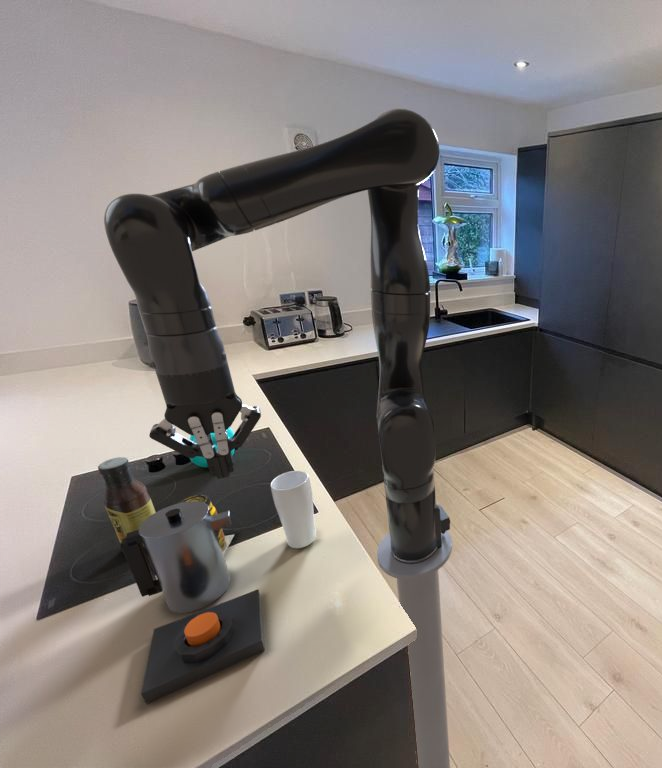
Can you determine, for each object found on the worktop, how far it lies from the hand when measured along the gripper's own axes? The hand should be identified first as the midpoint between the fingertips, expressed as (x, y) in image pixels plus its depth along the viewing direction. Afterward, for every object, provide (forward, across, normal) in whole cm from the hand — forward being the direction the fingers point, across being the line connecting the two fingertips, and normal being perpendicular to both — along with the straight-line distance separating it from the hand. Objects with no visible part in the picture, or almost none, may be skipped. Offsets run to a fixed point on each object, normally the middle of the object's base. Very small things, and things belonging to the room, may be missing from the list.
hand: (223, 475), depth 58 cm
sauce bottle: (+27, +19, -29) cm, 44 cm away
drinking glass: (+27, -8, -14) cm, 32 cm away
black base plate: (+27, +7, +3) cm, 28 cm away
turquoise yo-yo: (+27, +8, -60) cm, 66 cm away
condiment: (+27, +9, -21) cm, 36 cm away
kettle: (+27, +9, -10) cm, 30 cm away
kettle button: (+23, +7, +4) cm, 25 cm away
